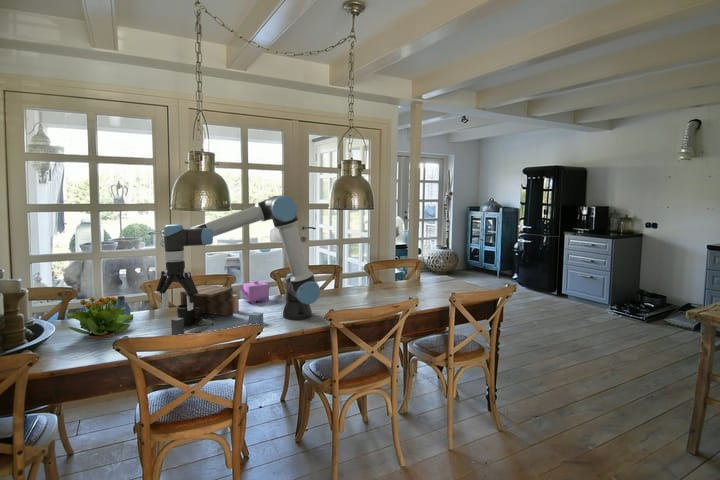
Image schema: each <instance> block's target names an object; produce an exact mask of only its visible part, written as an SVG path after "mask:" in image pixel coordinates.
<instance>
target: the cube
mask: <svg viewBox="0 0 720 480" xmlns="http://www.w3.org/2000/svg"><path fill="white" fill-rule="evenodd" d="M250 323H257V324H260V325H262V324H263V323H264V313H263V312H256V311H254V312H251V313H249V314H248V325H250Z"/></svg>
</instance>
